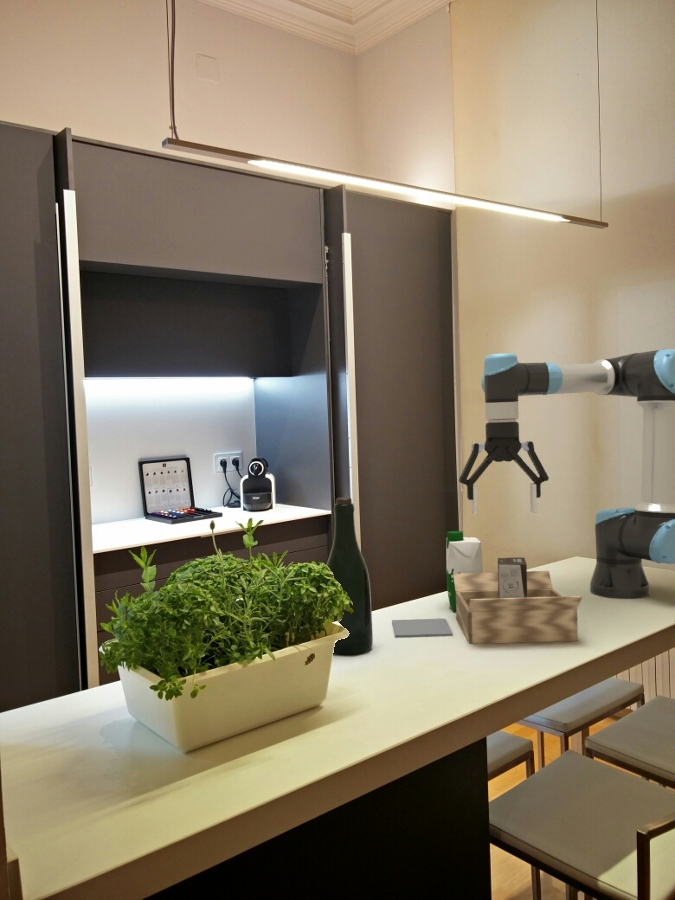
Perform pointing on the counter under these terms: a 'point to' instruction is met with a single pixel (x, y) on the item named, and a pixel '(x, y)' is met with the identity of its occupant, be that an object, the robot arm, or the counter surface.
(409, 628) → the mat
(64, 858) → the counter surface
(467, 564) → the milk carton
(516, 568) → the coffee box
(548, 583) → the wooden box frame
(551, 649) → the counter surface
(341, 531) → the dark green wine bottle
